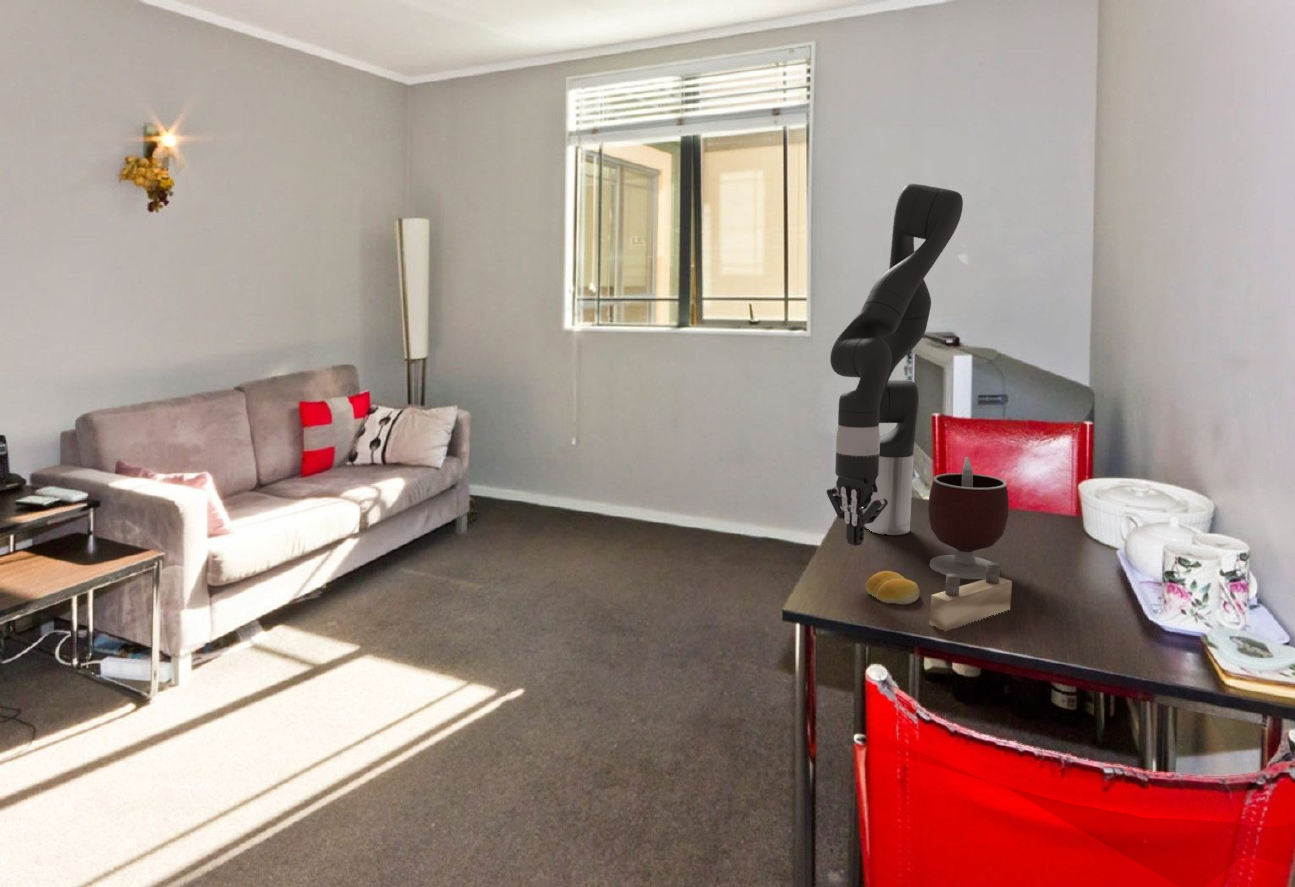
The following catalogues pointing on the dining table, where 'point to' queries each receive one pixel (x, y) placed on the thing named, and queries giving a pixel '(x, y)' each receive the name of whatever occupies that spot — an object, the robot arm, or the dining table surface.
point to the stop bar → (970, 599)
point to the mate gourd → (967, 519)
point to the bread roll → (892, 588)
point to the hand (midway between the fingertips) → (854, 544)
